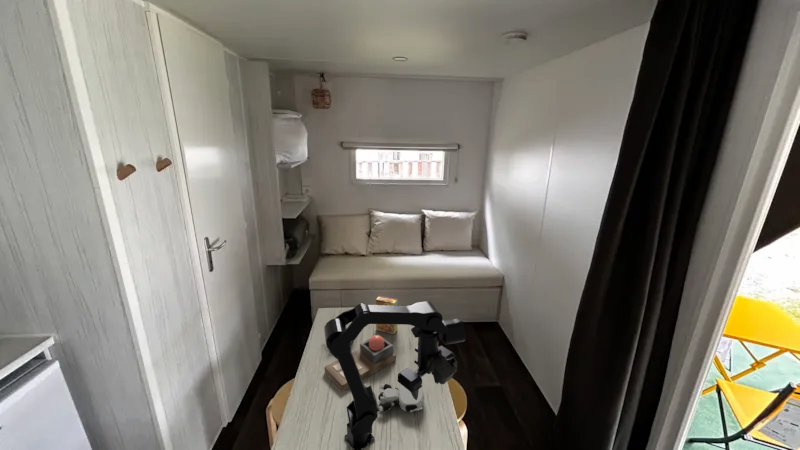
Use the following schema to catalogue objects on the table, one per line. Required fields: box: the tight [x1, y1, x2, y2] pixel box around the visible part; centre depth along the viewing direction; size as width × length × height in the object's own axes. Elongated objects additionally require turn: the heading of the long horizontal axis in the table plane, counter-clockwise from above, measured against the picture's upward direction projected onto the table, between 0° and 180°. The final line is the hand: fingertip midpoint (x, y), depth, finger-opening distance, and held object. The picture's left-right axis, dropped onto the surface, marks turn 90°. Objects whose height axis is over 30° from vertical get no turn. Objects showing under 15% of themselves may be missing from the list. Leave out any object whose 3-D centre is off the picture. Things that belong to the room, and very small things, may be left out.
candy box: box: [375, 295, 399, 335], centre depth 146 cm, size 9×4×15 cm, turn 70°
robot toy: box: [377, 383, 425, 413], centre depth 110 cm, size 12×4×15 cm
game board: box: [323, 334, 397, 392], centre depth 125 cm, size 24×12×6 cm, turn 132°
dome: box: [369, 334, 385, 353], centre depth 128 cm, size 6×6×6 cm
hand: (426, 390), depth 99 cm, fingers open, 9 cm apart
